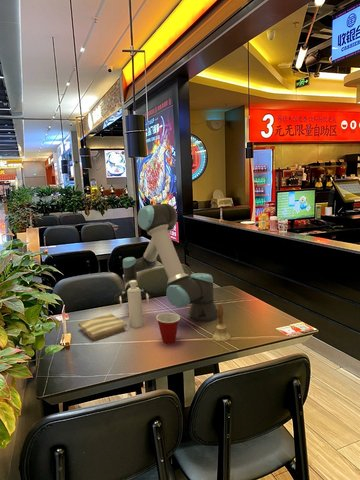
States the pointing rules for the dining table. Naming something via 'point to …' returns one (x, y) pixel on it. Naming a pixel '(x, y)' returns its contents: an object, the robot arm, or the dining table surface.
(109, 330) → the stand
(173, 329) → the plastic cup
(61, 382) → the dining table surface
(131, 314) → the spray bottle
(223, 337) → the hand bell
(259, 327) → the dining table surface
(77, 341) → the dining table surface
